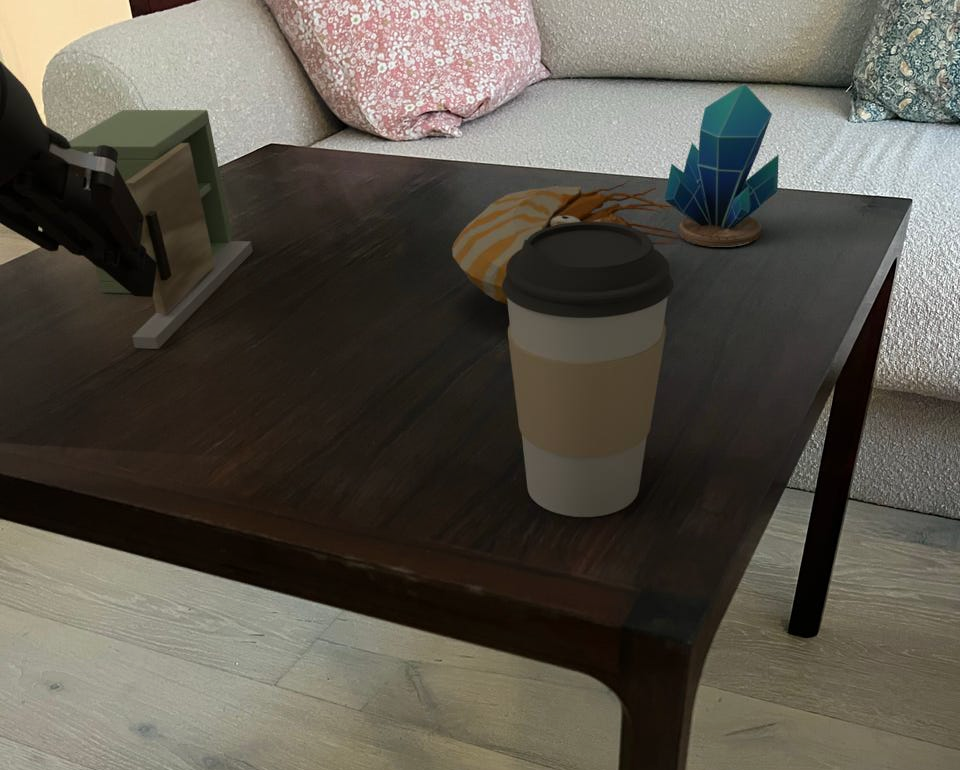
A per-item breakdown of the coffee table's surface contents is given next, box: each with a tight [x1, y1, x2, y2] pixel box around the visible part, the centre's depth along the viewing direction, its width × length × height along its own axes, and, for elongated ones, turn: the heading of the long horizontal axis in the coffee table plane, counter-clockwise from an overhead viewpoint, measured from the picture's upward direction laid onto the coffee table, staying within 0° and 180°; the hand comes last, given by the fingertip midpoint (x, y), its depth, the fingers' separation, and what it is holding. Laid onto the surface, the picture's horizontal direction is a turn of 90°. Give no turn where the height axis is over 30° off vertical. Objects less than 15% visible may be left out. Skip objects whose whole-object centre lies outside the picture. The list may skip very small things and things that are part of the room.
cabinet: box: [68, 109, 254, 350], centre depth 87 cm, size 10×22×12 cm, turn 169°
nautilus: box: [451, 179, 682, 306], centre depth 84 cm, size 8×22×15 cm
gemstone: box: [663, 83, 780, 247], centre depth 91 cm, size 7×9×12 cm
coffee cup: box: [502, 222, 675, 518], centre depth 59 cm, size 9×9×15 cm
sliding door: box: [125, 143, 215, 313], centre depth 84 cm, size 1×10×10 cm, turn 169°
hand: (145, 279), depth 81 cm, fingers closed
